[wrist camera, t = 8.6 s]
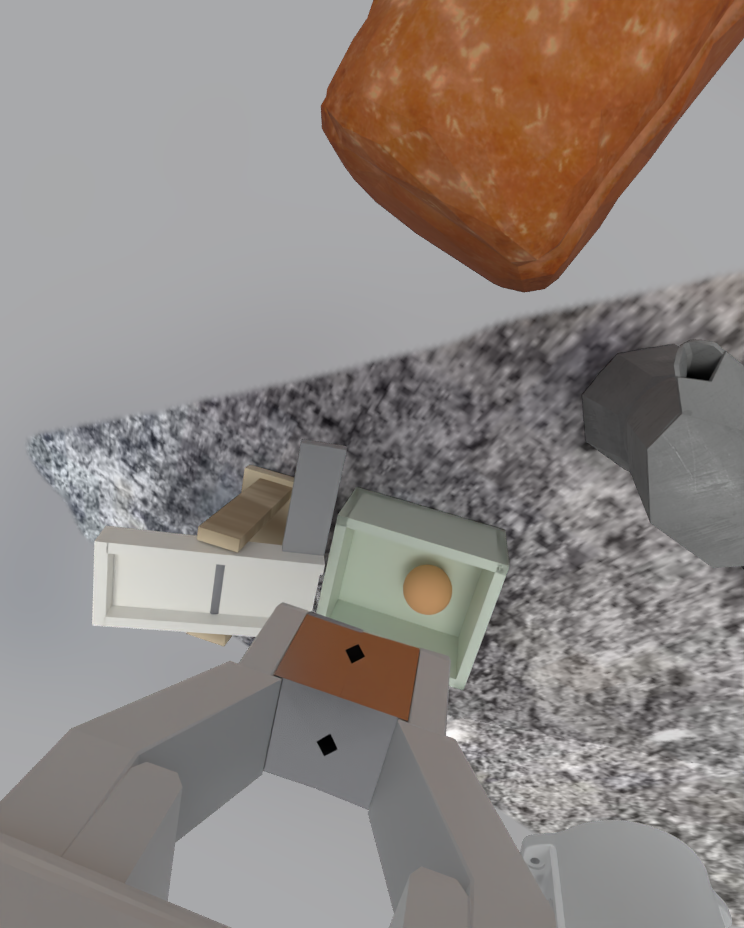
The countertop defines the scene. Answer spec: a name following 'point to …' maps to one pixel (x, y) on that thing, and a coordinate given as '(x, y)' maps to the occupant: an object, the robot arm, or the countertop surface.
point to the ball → (427, 589)
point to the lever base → (249, 519)
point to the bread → (517, 116)
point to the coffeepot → (678, 441)
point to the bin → (391, 559)
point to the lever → (220, 565)
